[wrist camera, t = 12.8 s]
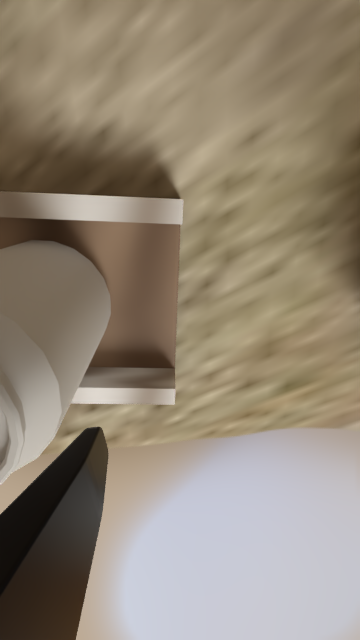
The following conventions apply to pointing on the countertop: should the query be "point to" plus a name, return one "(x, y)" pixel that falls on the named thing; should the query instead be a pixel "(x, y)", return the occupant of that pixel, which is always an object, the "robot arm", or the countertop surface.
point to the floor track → (116, 282)
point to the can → (44, 342)
